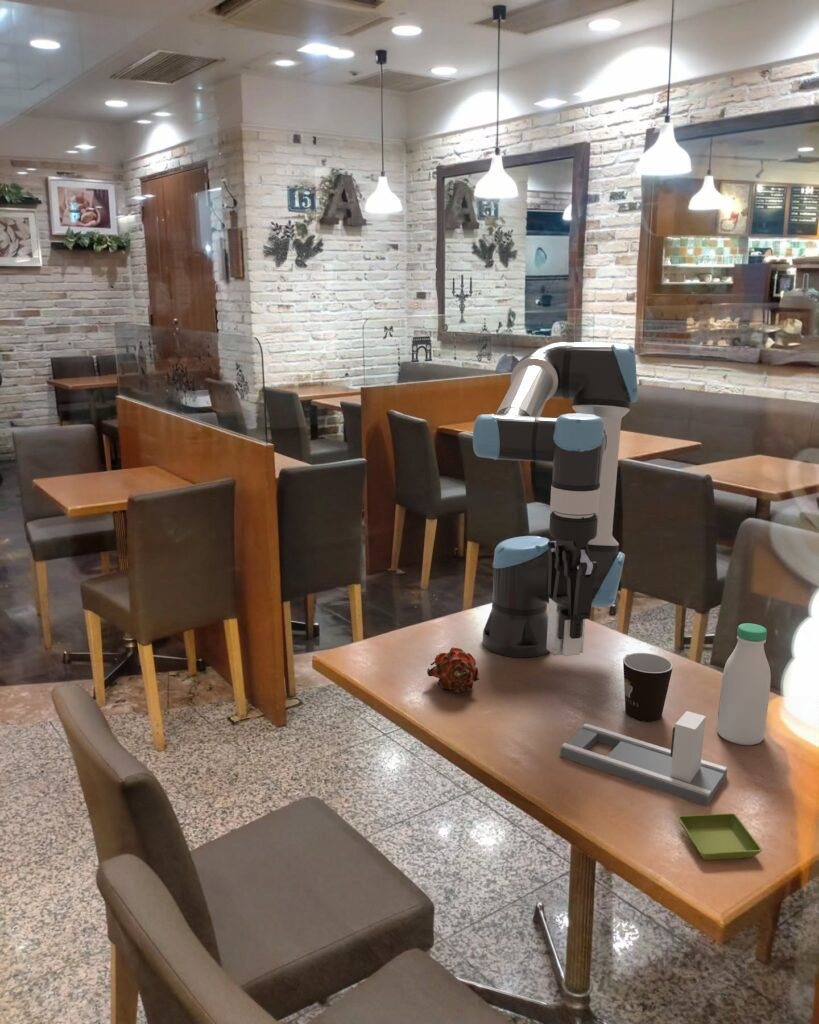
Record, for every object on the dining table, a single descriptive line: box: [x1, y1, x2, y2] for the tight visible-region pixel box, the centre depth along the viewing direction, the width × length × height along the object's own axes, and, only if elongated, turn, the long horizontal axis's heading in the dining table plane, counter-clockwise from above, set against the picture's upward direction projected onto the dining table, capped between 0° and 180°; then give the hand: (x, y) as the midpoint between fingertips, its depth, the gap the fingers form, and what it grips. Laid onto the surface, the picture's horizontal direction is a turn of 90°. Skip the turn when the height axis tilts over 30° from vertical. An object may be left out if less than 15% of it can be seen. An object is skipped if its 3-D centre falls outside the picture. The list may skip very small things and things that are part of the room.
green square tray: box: [677, 812, 763, 861], centre depth 122 cm, size 9×9×2 cm
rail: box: [559, 710, 728, 807], centre depth 140 cm, size 10×24×10 cm, turn 55°
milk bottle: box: [716, 622, 772, 746], centre depth 149 cm, size 8×8×20 cm
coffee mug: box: [622, 652, 674, 723], centre depth 159 cm, size 12×9×10 cm
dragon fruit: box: [426, 646, 480, 693], centre depth 167 cm, size 8×8×12 cm
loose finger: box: [546, 596, 586, 657], centre depth 144 cm, size 5×4×9 cm
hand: (565, 649), depth 145 cm, fingers closed on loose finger, 3 cm apart
